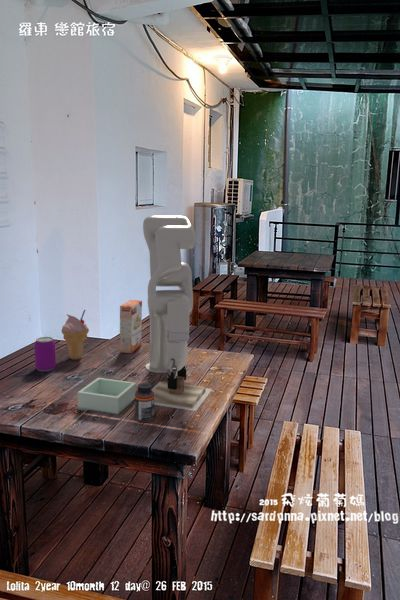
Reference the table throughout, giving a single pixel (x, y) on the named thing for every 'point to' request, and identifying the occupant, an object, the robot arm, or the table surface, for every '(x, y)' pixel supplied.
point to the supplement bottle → (144, 403)
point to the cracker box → (130, 326)
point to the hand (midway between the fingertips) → (177, 384)
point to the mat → (184, 406)
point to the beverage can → (45, 354)
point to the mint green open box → (106, 395)
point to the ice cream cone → (75, 335)
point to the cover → (178, 393)
